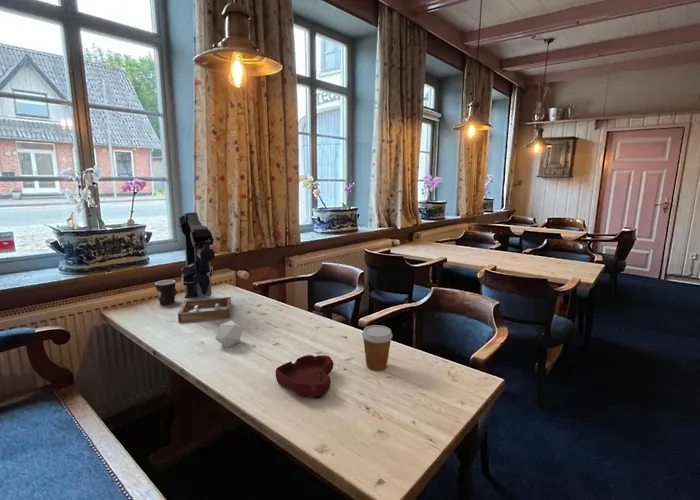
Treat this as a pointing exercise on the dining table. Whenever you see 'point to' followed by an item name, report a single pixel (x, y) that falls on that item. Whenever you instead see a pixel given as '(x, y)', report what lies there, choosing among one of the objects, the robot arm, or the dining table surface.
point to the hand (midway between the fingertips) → (204, 292)
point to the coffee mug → (166, 291)
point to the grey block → (206, 292)
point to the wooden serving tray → (204, 314)
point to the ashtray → (306, 375)
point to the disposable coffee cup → (377, 346)
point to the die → (229, 333)
